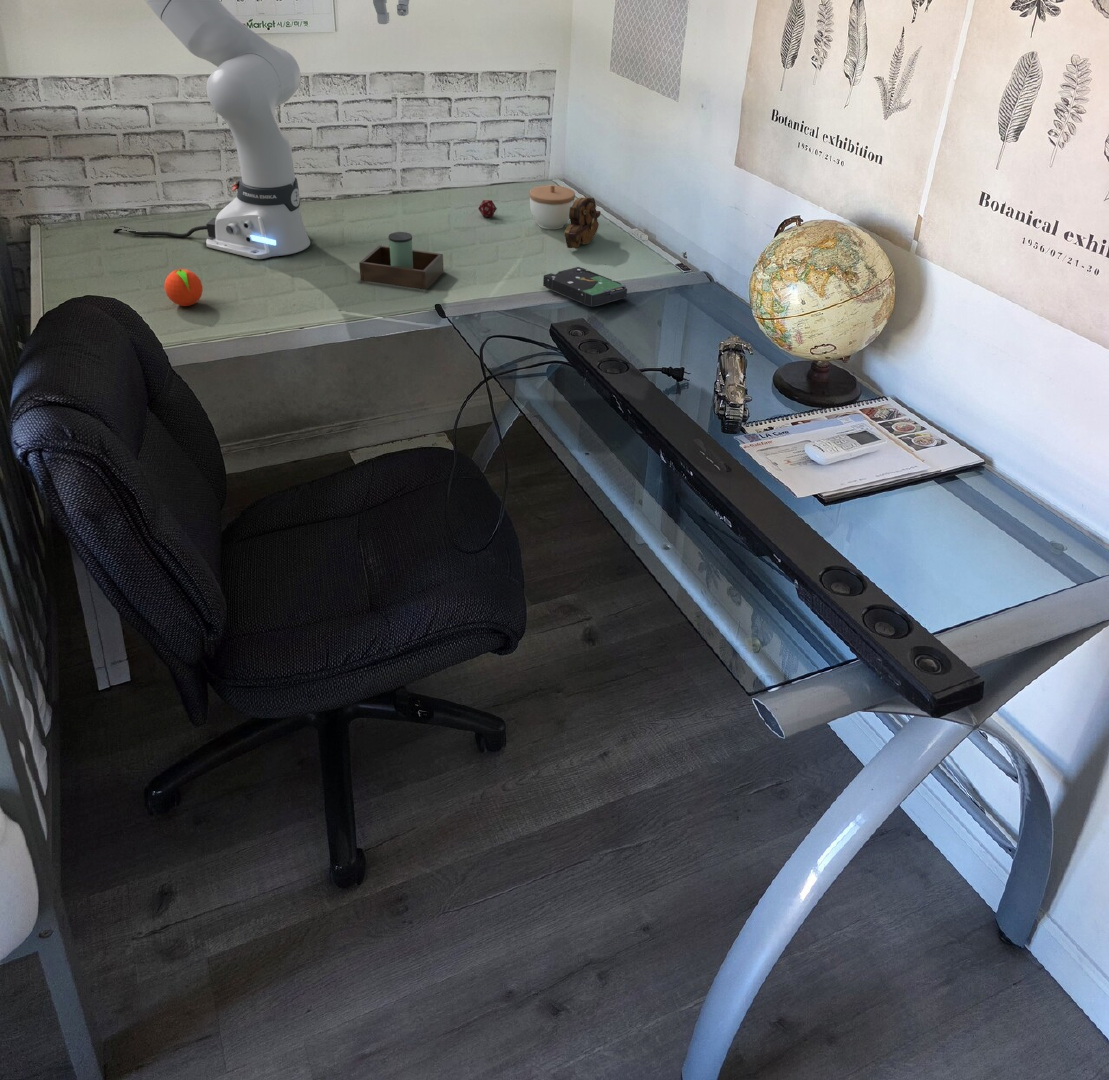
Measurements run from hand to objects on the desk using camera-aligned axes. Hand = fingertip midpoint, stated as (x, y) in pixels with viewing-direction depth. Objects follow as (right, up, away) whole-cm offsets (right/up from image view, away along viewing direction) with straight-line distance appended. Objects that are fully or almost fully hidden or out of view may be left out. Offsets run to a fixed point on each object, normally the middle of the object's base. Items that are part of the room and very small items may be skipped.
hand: (393, 19), depth 187 cm
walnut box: (-2, -43, +22) cm, 48 cm away
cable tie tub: (-2, -43, +22) cm, 48 cm away
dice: (+14, -20, +54) cm, 59 cm away
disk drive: (+37, -47, +18) cm, 62 cm away
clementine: (-41, -52, +7) cm, 67 cm away
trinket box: (+30, -23, +51) cm, 63 cm away
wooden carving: (+37, -30, +42) cm, 63 cm away
